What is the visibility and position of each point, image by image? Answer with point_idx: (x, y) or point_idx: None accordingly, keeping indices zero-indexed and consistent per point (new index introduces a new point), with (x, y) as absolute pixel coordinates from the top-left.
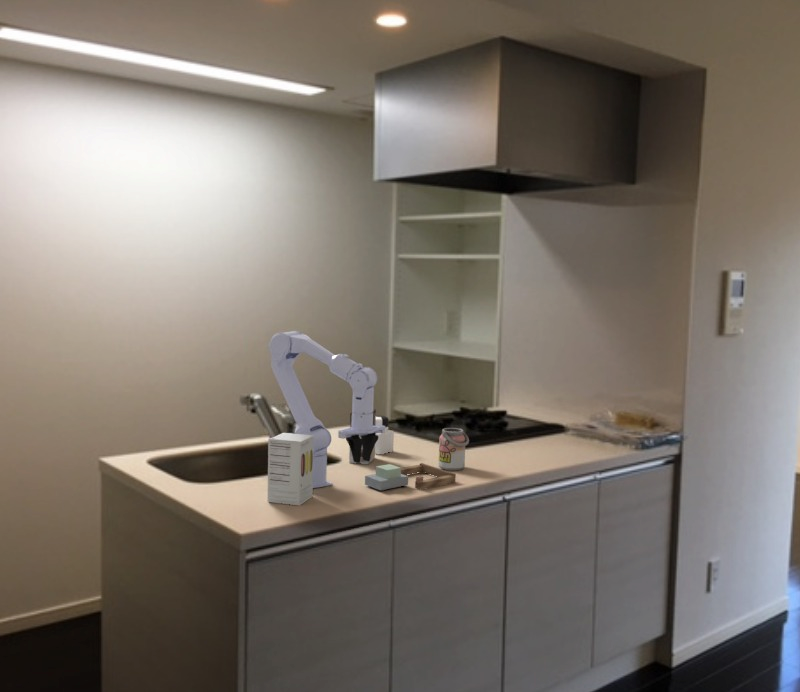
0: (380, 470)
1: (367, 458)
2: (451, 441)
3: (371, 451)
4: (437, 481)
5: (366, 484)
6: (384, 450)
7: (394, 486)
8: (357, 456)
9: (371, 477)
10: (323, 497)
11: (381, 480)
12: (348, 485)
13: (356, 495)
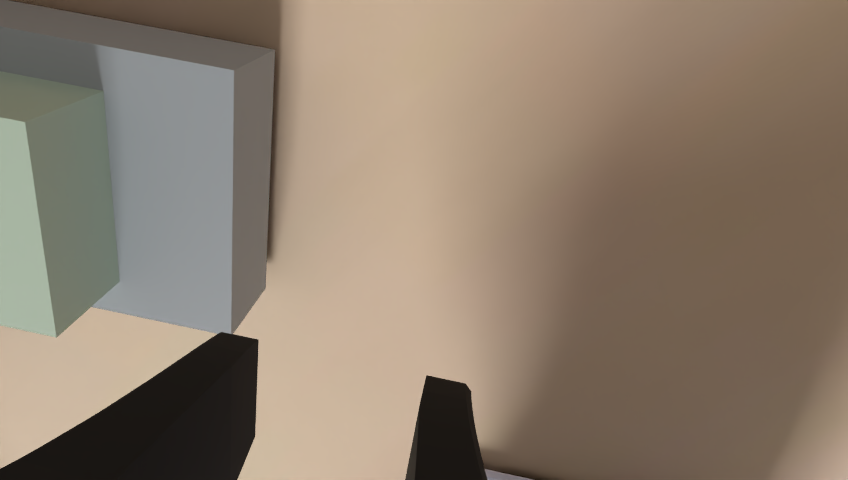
0: (65, 241)
1: (236, 375)
2: None
3: (89, 430)
4: None
5: (264, 269)
6: None
7: (73, 14)
8: (484, 477)
9: (216, 253)
10: (833, 310)
11: (196, 89)
12: (366, 384)
13: (554, 136)
